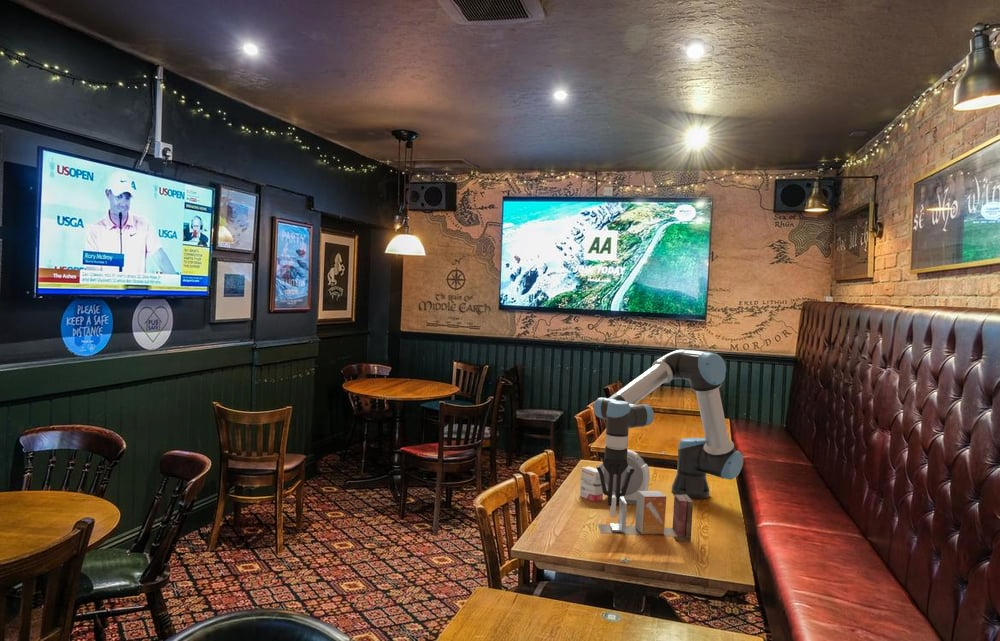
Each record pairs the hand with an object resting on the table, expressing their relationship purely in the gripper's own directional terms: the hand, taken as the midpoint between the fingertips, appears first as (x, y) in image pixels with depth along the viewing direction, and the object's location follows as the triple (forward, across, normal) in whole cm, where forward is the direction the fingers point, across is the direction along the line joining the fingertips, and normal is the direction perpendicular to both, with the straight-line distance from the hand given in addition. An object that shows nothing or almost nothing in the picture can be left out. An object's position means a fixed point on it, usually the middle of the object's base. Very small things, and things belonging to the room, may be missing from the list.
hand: (612, 515), depth 221 cm
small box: (+5, -13, 0) cm, 14 cm away
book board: (+6, -11, 0) cm, 13 cm away
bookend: (+4, -2, 0) cm, 5 cm away
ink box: (+7, +3, -37) cm, 38 cm away
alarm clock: (+7, -10, -36) cm, 38 cm away
